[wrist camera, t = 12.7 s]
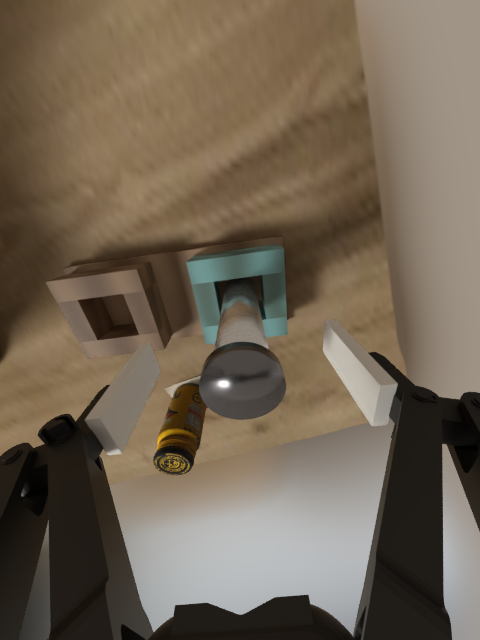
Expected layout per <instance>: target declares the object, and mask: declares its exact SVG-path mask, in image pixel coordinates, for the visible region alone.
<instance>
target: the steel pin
mask: <svg viewBox="0 0 480 640" xmlns="http://www.w3.org/2000/svg"><path fill="white" fill-rule="evenodd" d="M285 390H286V382H285V378H284V374H283V371H282V367H281V364H280V362H279V360H278V358H277V357H276V356H275V354H274V353H273V352H271V351H270V350H269V348H268V343H267V339H266V335H265V330H264V326H263V322H262V318H261V313H260V309H259V305H258V300H257V296H256V292H255V287H254V285H253V283H252V281H251V280H250V279H248V278H246V277H245V278H237V279H230V280H229V281H228V283H227V284H226V287H225V292H224V298H223V303H222V309H221V315H220V320H219V326H218V331H217V337H216V343H215V348H214V351H213V352H212V353H211V354H210V355H209V356H208V358H207V359H206V361H205V363H204V365H203V369H202V373H201V377H200V382H199V392H200V396H201V398H202V400H203V402H204V403H205V404H206V406H207V407H208V408H210V409H211V410H212V411H213V412H215V413H217V414H219V415H221V416H224V417H227V418H231V419H241V420H244V419H253V418H257V417H260V416H263V415H265V414H267V413H269V412H270V411H272V410H273V409H275V408H276V407H277V406H278V405H279V403H280V402H281V401H282V399H283V397H284V394H285Z"/></svg>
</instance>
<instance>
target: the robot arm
mask: <svg viewBox="0 0 480 640" xmlns="http://www.w3.org/2000/svg"><path fill="white" fill-rule="evenodd" d="M323 352H324V354H325V355H326V357H327V358H328V360H329V361H330V363H331V364H332V366H333V368H334V369H335V371H336V372H337V374H338V375H339V377H340V378H341V380H342V381H343V383H344V384H345V386H346V387H347V389H348V391H349V392H350V394H351V395H352V397H353V398H354V400H355V401H356V403H357V404H358V406H359V407H360V409H361V410H362V412H363V413H364V415H365V417H366V418H367V420H368V421H369V423H370V424H371V426H381V425H387V424H388V420H389V417H390V418H391V419H392V420H393V422H394V423H395V425H394V429H393V432H392V436H391V438H392V440H391V445H390V450H389V456H388V461H387V466H386V472H385V477H384V482H383V487H382V492H381V498H380V503H379V509H378V514H377V519H376V525H375V529H374V535H373V540H372V545H371V551H370V556H369V561H368V566H367V571H366V577H365V582H364V587H363V591H362V596H361V600H360V604H359V609H358V614H357V619H356V624H355V629H354V634H353V636H352V635H351V634H350V632H349V631H348V630H347V629H346V628H345V627H344V626H343V625H342V624H341V623H340V622H339V621H338V620H337V619H335V618H334V617H333V616H332V615H330V614H329V613H328V612H326V611H324V610H323V609H321V608H319V607H317V606H314V605H311V604H310V601H309V596H308V595H300V596H287V597H276V598H273V599H271V600H269V601H268V602H266V603H264V604H262V605H260V606H258V607H257V608H255V609H253V610H251V611H249V612H247V613H245V614H243V615H238V614H235V613H233V612H230V611H227V610H225V609H222V608H219V607H217V606H214V605H211V604H209V603H200V604H188V605H176V606H175V611H174V617H172V618H170V619H169V620H167V621H166V622H165V623H163V624H162V625H161V626H160V627H159V628H158V629H157V630H156V631H155V632H154V633H153V630H152V627H151V624H150V622H149V619H148V617H147V615H146V613H145V611H144V609H143V607H142V605H141V601H140V598H139V594H138V590H137V587H136V583H135V579H134V576H133V572H132V568H131V565H130V561H129V557H128V554H127V550H126V546H125V542H124V539H123V535H122V532H121V528H120V524H119V520H118V517H117V513H116V510H115V506H114V502H113V498H112V495H111V491H110V487H109V484H108V480H107V476H106V473H105V469H104V465H103V462H102V459H101V457H100V456H99V455H100V453H101V452H102V450H103V449H104V450H105V451H106V453H107V454H108V455H114V454H122V452H123V450H124V448H125V446H126V444H127V442H128V440H129V438H130V436H131V433H132V431H133V429H134V427H135V425H136V423H137V421H138V419H139V417H140V414H141V412H142V410H143V408H144V406H145V404H146V402H147V400H148V398H149V395H150V393H151V391H152V389H153V387H154V385H155V383H156V381H157V379H158V376H159V374H160V372H161V371H160V368H159V365H158V363H157V360H156V358H155V355H154V352H153V350H152V347H151V344H150V343H146V344H140V345H139V347H138V348H137V349H136V351H135V352H134V353H133V355H132V356H131V357H130V359H129V360H128V361H127V363H126V364H125V366H124V367H123V368H122V370H121V371H120V372H119V374H118V375H117V376H116V378H115V379H114V381H113V382H112V383H111V385H106V386H105V387H104V388H103V389H102V390H100V391H99V392H98V394H97V395H96V396H95V397H94V400H92V401H91V403H90V404H89V406H87V408H86V409H85V410H84V412H83V413H82V414H81V416H80V417H79V418H78V419H77V421H76V422H75V420H74V419H73V417H72V416H71V415H70V414H63V415H60V416H57V417H55V418H53V419H52V420H50V421H49V422H47V423H46V424H45V425H44V426H43V427H42V428H41V429H40V431H39V433H38V436H39V437H40V439H41V440H42V441H43V442H44V443H45V444H44V445H41V446H38V447H36V448H33V447H32V446H31V445H30V444H29V443H22V444H19V445H16V446H14V447H12V448H11V449H9V450H8V451H6V452H5V453H3V454H2V455H1V456H0V640H18V639H19V635H20V631H21V627H22V623H23V619H24V615H25V611H26V607H27V603H28V599H29V595H30V591H31V587H32V583H33V579H34V575H35V571H36V567H37V563H38V559H39V555H40V551H41V547H42V543H43V539H44V535H45V532H46V528H47V523H48V520H49V552H50V553H49V558H50V610H51V630H50V635H49V638H48V639H47V640H452V634H451V623H450V618H449V615H448V613H447V611H446V609H445V606H444V597H443V502H442V501H443V497H442V494H443V492H442V444H447V446H448V449H449V451H450V454H451V457H452V459H453V462H454V465H455V467H456V470H457V473H458V475H459V478H460V481H461V483H462V486H463V488H464V491H465V494H466V497H467V499H468V502H469V504H470V507H471V510H472V512H473V515H474V518H475V520H476V522H477V525H478V528H479V531H480V393H477V392H467V393H464V394H463V395H462V396H461V398H460V400H458V399H450V398H442V397H439V396H438V395H437V394H435V393H434V392H432V391H431V390H429V389H426V388H423V387H419V386H415V385H414V384H413V383H412V382H411V381H410V380H409V379H408V378H407V377H406V376H404V375H403V374H402V373H401V372H400V371H399V370H398V369H396V367H395V366H394V365H393V364H391V362H390V361H388V360H387V359H386V358H385V357H384V356H382V355H380V354H378V353H377V352H371V353H367V352H366V350H365V349H364V348H363V347H362V346H361V345H360V344H359V343H358V342H357V341H356V340H355V339H354V338H353V337H352V336H351V335H350V334H349V333H348V332H347V331H346V330H345V329H344V328H343V327H342V326H341V325H340V324H339V323H338V322H337V321H336V320H335V319H333V320H325V322H324V342H323Z"/></svg>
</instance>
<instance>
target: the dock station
mask: <svg viewBox="0 0 480 640" xmlns="http://www.w3.org/2000/svg"><path fill="white" fill-rule="evenodd" d="M62 269H63V271H64V273H65V275H64V276H62V277H59V278H56V279H53V280H50V281H47V282H46V284H47V286H48V288H49V290H50V291H51V293H52V295H53V297H54V299H55V300H56V302H57V304H58V306H59V308H60V309H61V311H62V313H63V315H64V317H65V319H66V320H67V322H68V324H69V326H70V328H71V329H72V331H73V333H74V335H75V337H76V338H77V340H78V342H79V344H80V346H81V347H82V349H83V351H84V353H85V355H86V357H87V358H96V357H105V356H113V355H121V354H130V353H134V352H135V351H136V349H137V348H138V347H139V345H140V344H146V343H150V344H151V347H152V350H153V351H155V350H163V349H165V348H166V346H167V344H168V342H169V340H170V339H173V338H181V337H189V336H198V335H204V338H205V342H206V344H213V343H216V337H217V331H218V326H219V320H220V315H221V309H222V303H223V298H224V292H225V287H226V284H227V283H228V281H229V280H230V279H237V278H245V277H246V278H248V279H250V280H251V281H252V283H253V285H254V287H255V292H256V296H257V300H258V305H259V309H260V313H261V318H262V322H263V326H264V330H265V335H266V337H271V336H280V335H288V333H287V309H286V284H285V260H284V237H283V236H277V237H270V238H263V239H256V240H249V241H242V242H235V243H228V244H221V245H214V246H207V247H200V248H193V249H186V250H179V251H172V252H165V253H158V254H151V255H144V256H137V257H130V258H123V259H117V260H110V261H103V262H96V263H89V264H82V265H75V266H68V267H65V268H62Z"/></svg>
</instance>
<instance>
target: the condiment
mask: <svg viewBox="0 0 480 640" xmlns="http://www.w3.org/2000/svg"><path fill="white" fill-rule="evenodd" d="M200 377H201V375H200V376H198V377H195V378H192V379H189V380H186V381H183V382H180V383H178V384H175V385H172V386H170V387H167V388H165V390H166V391H167V393H168V394H169V395H170V396H171V397H172V400H171V403H170V406H169V408H168V411H167V414H166V417H165V420H164V423H163V425H162V428H161V430H160V433H159V436H158V441H157V442H158V446H157V451H156V453H155V456H154V460H153V462H154V465H155V467H156V468H157V469H158V470H159V471H161V472H163V473H165V474H169V475H182V474H185V473H187V472H189V471H190V470H191V468H192V466H193V464H194V458H195V455H196V451H197V450H198V448H199V446H200V441H201V435H202V429H203V423H204V417H205V411H206V408H208V407H207V406H206V404H205V403H204V402H203V400H202V398H201V396H200V392H199V382H200Z"/></svg>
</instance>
